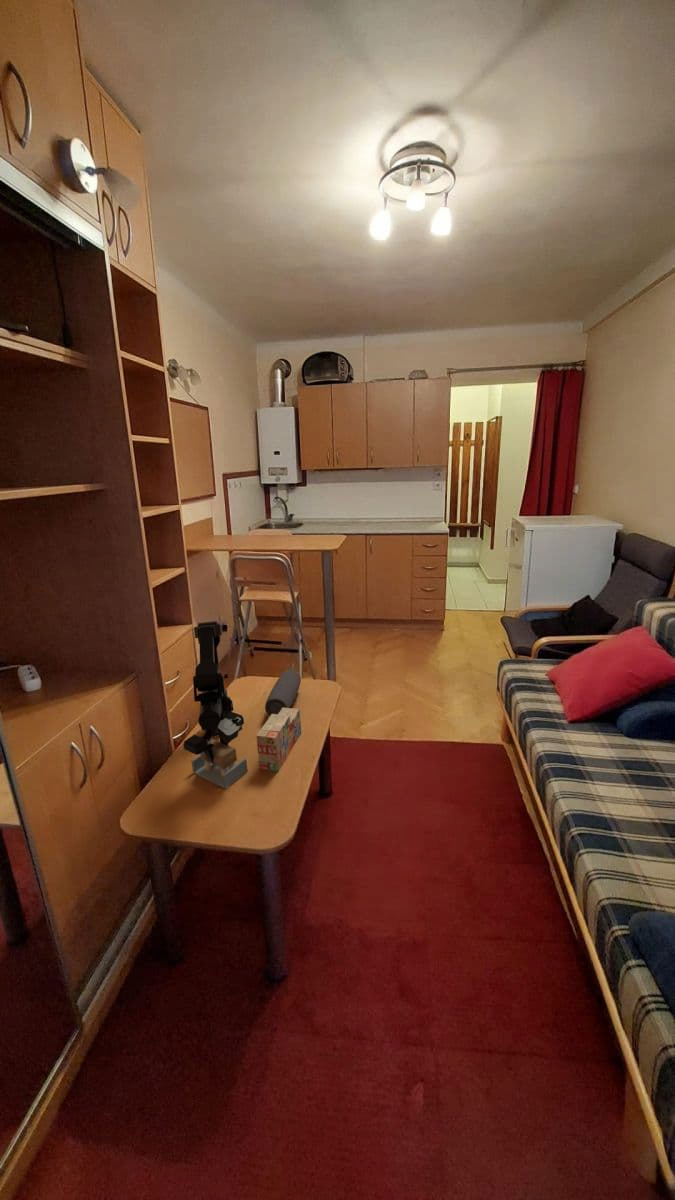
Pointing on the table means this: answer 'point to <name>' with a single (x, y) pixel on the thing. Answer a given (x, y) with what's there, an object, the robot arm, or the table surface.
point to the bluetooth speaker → (283, 692)
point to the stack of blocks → (278, 738)
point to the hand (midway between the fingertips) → (218, 756)
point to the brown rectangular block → (221, 754)
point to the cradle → (219, 771)
